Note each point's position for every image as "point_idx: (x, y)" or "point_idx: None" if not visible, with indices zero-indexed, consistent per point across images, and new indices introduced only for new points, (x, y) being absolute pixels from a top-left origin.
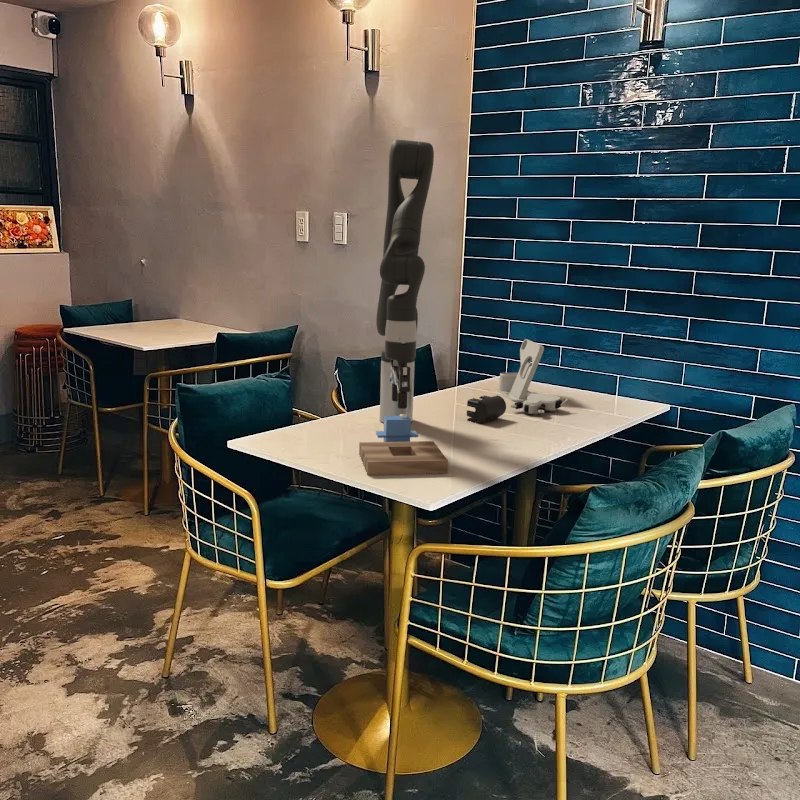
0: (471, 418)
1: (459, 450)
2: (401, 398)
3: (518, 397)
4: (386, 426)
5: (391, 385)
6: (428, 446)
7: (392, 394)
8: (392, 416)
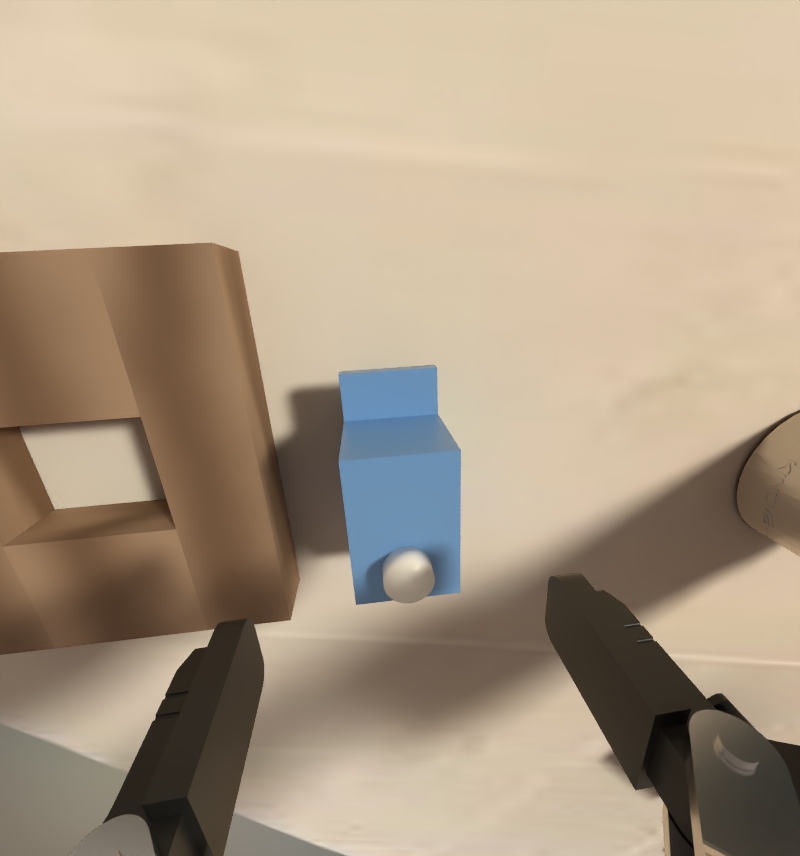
0: (724, 710)
1: (345, 657)
2: (143, 759)
3: None
4: (342, 442)
5: (713, 713)
6: (192, 598)
7: (589, 623)
8: (443, 504)
